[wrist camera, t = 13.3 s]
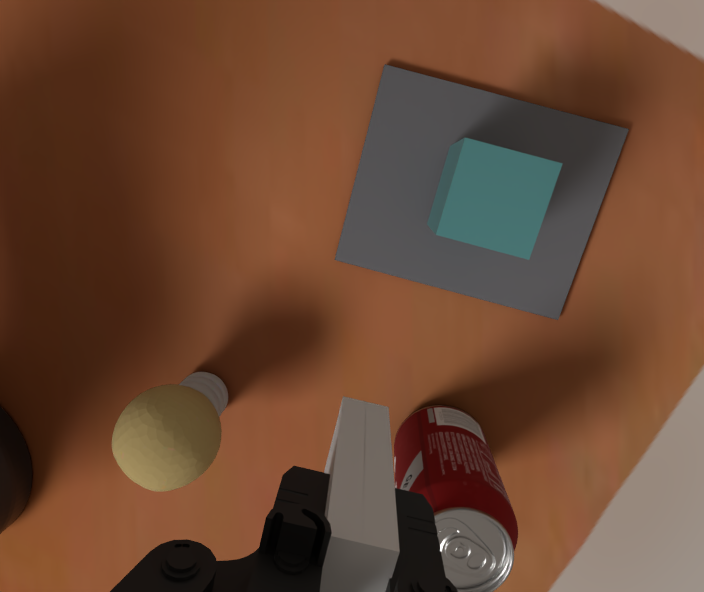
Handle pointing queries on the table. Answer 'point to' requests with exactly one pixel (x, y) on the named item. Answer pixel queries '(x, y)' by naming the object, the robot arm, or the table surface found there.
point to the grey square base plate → (424, 176)
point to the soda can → (459, 494)
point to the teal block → (493, 197)
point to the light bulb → (171, 432)
